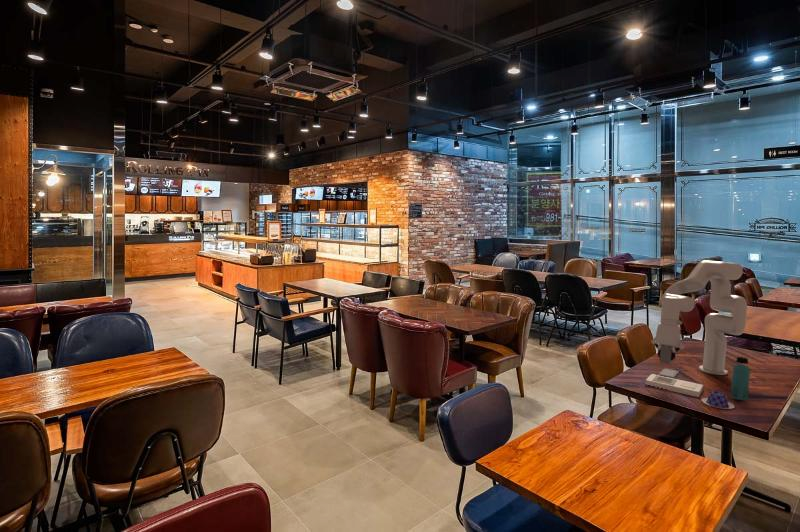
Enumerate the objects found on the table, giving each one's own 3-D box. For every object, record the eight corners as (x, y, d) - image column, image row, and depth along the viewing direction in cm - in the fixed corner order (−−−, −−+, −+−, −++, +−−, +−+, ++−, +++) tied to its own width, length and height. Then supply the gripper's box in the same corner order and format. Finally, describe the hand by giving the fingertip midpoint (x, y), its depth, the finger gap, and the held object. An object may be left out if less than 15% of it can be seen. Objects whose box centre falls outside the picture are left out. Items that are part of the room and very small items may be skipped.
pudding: (701, 397, 206) (702, 386, 205) (733, 403, 199) (734, 392, 198) (701, 406, 196) (702, 394, 195) (735, 413, 189) (736, 401, 188)
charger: (661, 360, 221) (663, 342, 220) (672, 362, 218) (673, 344, 217) (659, 362, 217) (661, 344, 216) (670, 364, 214) (671, 345, 213)
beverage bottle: (750, 404, 198) (755, 360, 195) (733, 402, 199) (738, 359, 197) (742, 398, 204) (747, 356, 202) (726, 397, 205) (730, 354, 203)
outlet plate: (651, 378, 228) (651, 373, 228) (702, 389, 214) (703, 384, 213) (645, 384, 219) (645, 379, 219) (698, 397, 205) (699, 391, 204)
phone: (663, 370, 243) (664, 368, 242) (678, 373, 238) (679, 371, 238) (658, 376, 233) (658, 374, 233) (673, 379, 228) (673, 377, 228)
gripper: (691, 323, 213) (687, 361, 215) (651, 318, 224) (648, 353, 226) (688, 326, 207) (684, 364, 209) (648, 320, 218) (644, 356, 220)
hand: (666, 358), depth 217 cm, fingers closed on charger, 4 cm apart
